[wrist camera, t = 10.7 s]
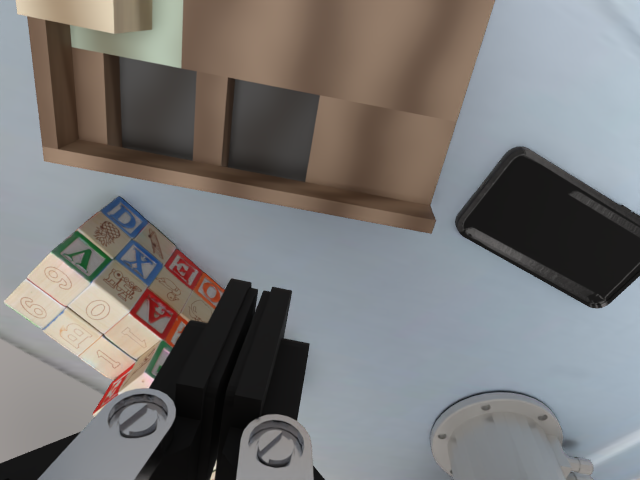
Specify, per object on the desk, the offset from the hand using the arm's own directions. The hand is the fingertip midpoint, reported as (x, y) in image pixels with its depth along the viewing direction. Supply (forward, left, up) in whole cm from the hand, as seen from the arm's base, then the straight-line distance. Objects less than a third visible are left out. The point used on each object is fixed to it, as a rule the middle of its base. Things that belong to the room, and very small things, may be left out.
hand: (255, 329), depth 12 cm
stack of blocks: (+8, +17, -23) cm, 30 cm away
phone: (-20, +4, -23) cm, 31 cm away
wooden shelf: (+4, -4, -23) cm, 23 cm away
